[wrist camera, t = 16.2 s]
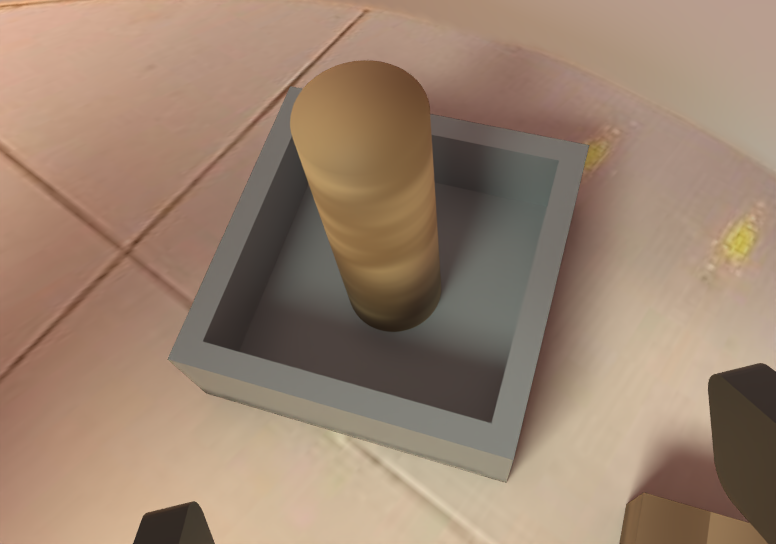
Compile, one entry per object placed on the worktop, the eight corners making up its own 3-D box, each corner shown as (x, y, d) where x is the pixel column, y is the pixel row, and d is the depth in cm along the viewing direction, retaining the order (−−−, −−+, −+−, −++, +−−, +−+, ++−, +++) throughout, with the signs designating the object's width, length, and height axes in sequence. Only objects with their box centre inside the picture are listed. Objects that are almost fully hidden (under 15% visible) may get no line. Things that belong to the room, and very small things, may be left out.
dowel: (336, 318, 31) (269, 158, 20) (365, 238, 33) (318, 50, 22) (426, 342, 30) (406, 188, 20) (452, 258, 32) (446, 74, 21)
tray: (205, 392, 31) (167, 359, 27) (309, 146, 36) (290, 86, 32) (506, 482, 29) (513, 459, 24) (573, 202, 34) (589, 145, 29)
